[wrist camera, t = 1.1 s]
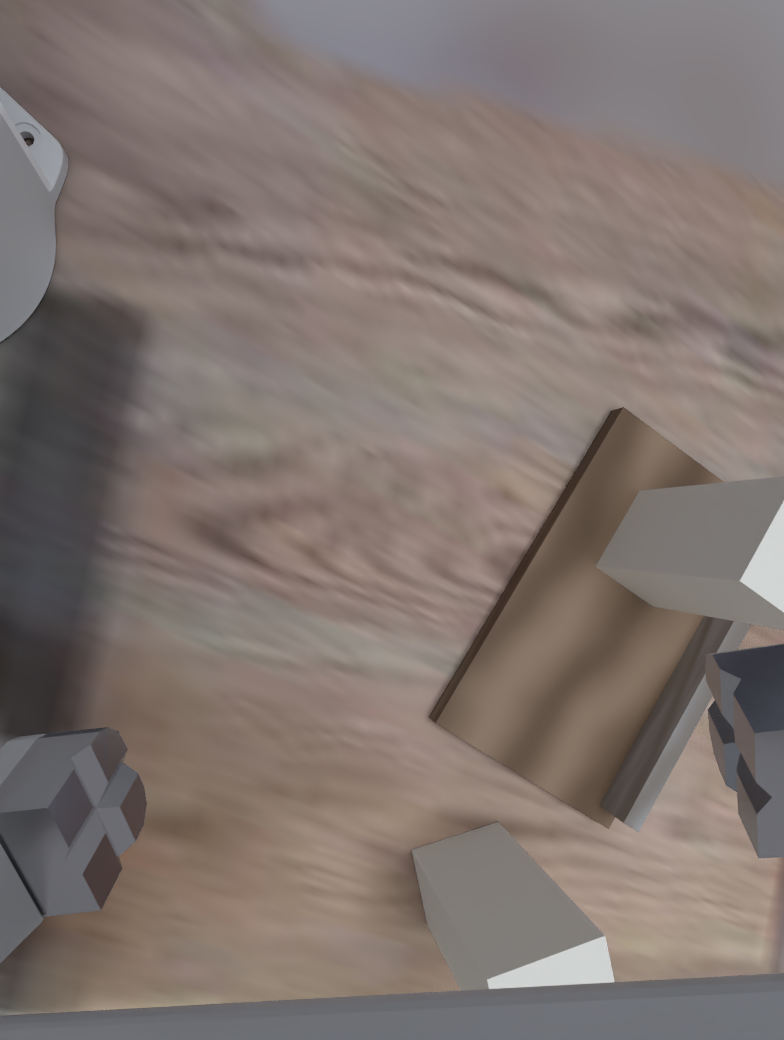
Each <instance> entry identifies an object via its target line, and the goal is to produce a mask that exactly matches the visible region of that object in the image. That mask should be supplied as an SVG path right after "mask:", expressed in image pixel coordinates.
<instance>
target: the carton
mask: <svg viewBox="0 0 784 1040" xmlns="http://www.w3.org/2000/svg"><path fill="white" fill-rule="evenodd" d="M596 568H598V569H599V570H601V571H602V572H604V573H605V574H607V575H608V576H609V577H611V578H612V579H614V580H615V581H617V582H618V583H620V584H621V585H623V586H624V587H625V588H627V589H628V590H630V591H631V592H633V593H634V594H636V595H637V596H638V597H640V598H641V599H643V600H644V601H646V602H647V603H649V604H650V605H652V606H653V607H658V608H664V609H669V610H675V611H680V612H686V613H692V614H697V615H703V616H708V617H714V618H720V619H725V620H731V621H737V622H742V623H748V624H753V625H759V626H765V627H770V628H776V629H781V630H784V477H774V478H764V479H754V480H743V481H733V482H723V483H712V484H702V485H692V486H681V487H671V488H661V489H651V490H640V491H639V493H638V494H637V496H636V498H635V499H634V501H633V503H632V505H631V506H630V508H629V510H628V512H627V513H626V515H625V517H624V518H623V520H622V522H621V524H620V525H619V527H618V529H617V530H616V532H615V534H614V536H613V537H612V539H611V541H610V543H609V544H608V546H607V548H606V549H605V551H604V553H603V555H602V556H601V558H600V560H599V561H598V563H597V565H596Z"/></svg>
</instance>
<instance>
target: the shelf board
mask: <svg viewBox="0 0 784 1040" xmlns="http://www.w3.org/2000/svg"><path fill="white" fill-rule="evenodd" d="M712 483H723V481H722V480H721V479H719V478H718V477H717V476H715V475H714V474H712V473H711V472H710V471H708V470H707V469H706V468H704V467H703V466H702V465H700V464H699V463H698V462H696V461H695V460H694V459H692V458H691V457H690V456H688V455H687V454H686V453H684V452H683V451H682V450H680V449H679V448H678V447H676V446H675V445H674V444H672V443H671V442H669V441H668V440H667V439H665V438H664V437H663V436H661V435H660V434H659V433H657V432H656V431H655V430H653V429H652V428H651V427H649V426H648V425H647V424H645V423H644V422H643V421H641V420H640V419H639V418H637V417H636V416H635V415H633V414H632V413H631V412H629V411H628V410H627V409H625V408H624V407H622V408H619V409H616V410H613V411H611V413H610V415H609V417H608V418H607V420H606V422H605V423H604V425H603V427H602V428H601V430H600V432H599V433H598V435H597V437H596V438H595V440H594V442H593V443H592V445H591V447H590V448H589V450H588V452H587V453H586V455H585V457H584V458H583V460H582V462H581V463H580V465H579V467H578V469H577V470H576V472H575V474H574V475H573V477H572V479H571V480H570V482H569V484H568V485H567V487H566V489H565V490H564V492H563V494H562V495H561V497H560V499H559V500H558V502H557V504H556V505H555V507H554V509H553V510H552V512H551V514H550V515H549V517H548V519H547V520H546V522H545V524H544V526H543V527H542V529H541V531H540V532H539V534H538V536H537V537H536V539H535V541H534V542H533V544H532V546H531V547H530V549H529V551H528V552H527V554H526V556H525V557H524V559H523V561H522V562H521V564H520V566H519V567H518V569H517V571H516V572H515V574H514V576H513V577H512V579H511V581H510V583H509V584H508V586H507V588H506V589H505V591H504V593H503V594H502V596H501V598H500V599H499V601H498V603H497V604H496V606H495V608H494V609H493V611H492V613H491V614H490V616H489V618H488V619H487V621H486V623H485V624H484V626H483V628H482V629H481V631H480V633H479V635H478V636H477V638H476V640H475V641H474V643H473V645H472V646H471V648H470V650H469V651H468V653H467V655H466V656H465V658H464V660H463V661H462V663H461V665H460V666H459V668H458V670H457V671H456V673H455V675H454V676H453V678H452V680H451V681H450V683H449V685H448V686H447V688H446V690H445V692H444V693H443V695H442V697H441V698H440V700H439V702H438V703H437V705H436V707H435V708H434V710H433V712H432V713H431V715H430V717H429V718H430V719H431V720H432V721H434V722H435V723H436V724H438V725H439V726H441V727H442V728H444V729H446V730H447V731H449V732H451V733H452V734H454V735H456V736H457V737H459V738H460V739H462V740H464V741H465V742H467V743H469V744H470V745H472V746H474V747H475V748H477V749H478V750H480V751H482V752H483V753H485V754H487V755H488V756H490V757H492V758H493V759H495V760H496V761H498V762H500V763H501V764H503V765H505V766H506V767H508V768H510V769H511V770H513V771H514V772H516V773H518V774H519V775H521V776H523V777H524V778H526V779H528V780H529V781H531V782H532V783H534V784H536V785H537V786H539V787H541V788H542V789H544V790H546V791H547V792H549V793H550V794H552V795H554V796H555V797H557V798H559V799H560V800H562V801H564V802H565V803H567V804H568V805H570V806H572V807H573V808H575V809H577V810H578V811H580V812H582V813H583V814H585V815H586V816H588V817H590V818H591V819H593V820H595V821H596V822H598V823H600V824H601V825H603V826H604V827H606V828H608V829H609V827H610V826H611V824H612V822H613V820H614V818H615V817H616V818H618V819H619V820H620V821H622V822H623V823H625V824H626V825H628V826H629V827H631V828H633V829H634V830H636V831H638V832H639V830H640V829H641V827H642V825H643V823H644V821H645V819H646V817H647V816H648V814H649V812H650V810H651V808H652V806H653V805H654V803H655V801H656V799H657V797H658V795H659V794H660V792H661V790H662V788H663V786H664V784H665V782H666V781H667V779H668V777H669V775H670V773H671V771H672V770H673V768H674V766H675V764H676V762H677V760H678V758H679V757H680V755H681V753H682V751H683V749H684V747H685V746H686V744H687V742H688V740H689V738H690V736H691V734H692V733H693V731H694V729H695V727H696V725H697V723H698V722H699V720H700V718H701V716H702V714H703V712H704V710H705V709H706V707H707V705H708V703H709V701H710V699H711V698H712V696H713V695H712V693H711V691H710V688H709V686H708V684H707V682H706V671H705V662H706V655H707V654H710V653H718V652H725V651H733V650H738V648H739V646H740V644H741V642H742V640H743V638H744V637H745V635H746V633H747V631H748V629H749V627H750V626H751V624H748V623H742V622H737V621H731V620H725V619H720V618H714V617H708V616H703V615H697V614H692V613H686V612H680V611H675V610H669V609H664V608H658V607H653V606H652V605H650V604H649V603H647V602H646V601H644V600H643V599H641V598H640V597H638V596H637V595H636V594H634V593H633V592H631V591H630V590H628V589H627V588H625V587H624V586H623V585H621V584H620V583H618V582H617V581H615V580H614V579H612V578H611V577H609V576H608V575H607V574H605V573H604V572H602V571H601V570H599V569H598V568H596V565H597V563H598V561H599V560H600V558H601V556H602V555H603V553H604V551H605V549H606V548H607V546H608V544H609V543H610V541H611V539H612V537H613V536H614V534H615V532H616V530H617V529H618V527H619V525H620V524H621V522H622V520H623V518H624V517H625V515H626V513H627V512H628V510H629V508H630V506H631V505H632V503H633V501H634V499H635V498H636V496H637V494H638V493H639V491H640V490H651V489H661V488H671V487H681V486H692V485H702V484H712Z"/></svg>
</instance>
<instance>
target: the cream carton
mask: <svg viewBox="0 0 784 1040" xmlns="http://www.w3.org/2000/svg"><path fill="white" fill-rule="evenodd" d="M411 851H412V855H413V860H414V865H415V869H416V874H417V879H418V883H419V888H420V893H421V897H422V902H423V907H424V911H425V916H426V921H427V925H428V927H429V929H430V931H431V933H432V935H433V937H434V939H435V941H436V943H437V945H438V947H439V949H440V951H441V953H442V955H443V957H444V958H445V960H446V962H447V964H448V966H449V968H450V970H451V972H452V974H453V976H454V978H455V980H456V982H457V984H458V986H459V988H460V990H480V989H499V988H517V987H536V986H555V985H574V984H592V983H611V982H614V977H613V972H612V967H611V962H610V957H609V953H608V948H607V943H606V938H605V935H604V934H603V933H602V932H601V931H600V930H599V929H598V928H597V927H596V926H595V925H594V923H593V922H592V921H591V920H590V919H589V918H588V917H587V916H586V915H585V914H584V913H583V912H582V911H581V910H580V909H579V907H578V906H577V905H576V904H575V903H574V902H573V901H572V900H571V899H570V898H569V897H568V896H567V895H566V894H565V893H564V891H563V890H562V889H561V888H560V887H559V886H558V885H557V884H556V883H555V882H554V881H553V880H552V879H551V878H550V877H549V875H548V874H547V873H546V872H545V871H544V870H543V869H542V868H541V867H540V866H539V865H538V864H537V863H536V862H535V861H534V860H533V858H532V857H531V856H530V855H529V854H528V853H527V852H526V851H525V850H524V849H523V848H522V847H521V846H520V845H519V844H518V842H517V841H516V840H515V839H514V838H513V837H512V836H511V835H510V834H509V833H508V832H507V831H506V830H505V829H504V828H503V826H502V825H501V824H500V823H499V822H496V823H493V824H490V825H487V826H484V827H481V828H477V829H474V830H471V831H468V832H465V833H462V834H459V835H456V836H453V837H450V838H446V839H443V840H440V841H437V842H434V843H431V844H428V845H425V846H422V847H419V848H416V849H412V850H411Z"/></svg>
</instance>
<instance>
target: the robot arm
mask: <svg viewBox="0 0 784 1040" xmlns="http://www.w3.org/2000/svg"><path fill="white" fill-rule="evenodd" d="M25 138H32V139H34V143H33V144H32V145H31V146H27V144H26V143H25V141H24V139H25ZM67 171H68V157H67V155H66V152H65V151H64V149H63V148H62V146H61V145H60V143H59V142H58V141H57V140H56V139H55V138H54V137H53V136H52V135H51V134H50V133H49V132H48V131H47V130H46V129H45V128H44V127H43V126H42V125H40V124H39V123H38V122H37V121H36V120H35V119H34V118H33V117H32V116H31V115H30V114H29V113H28V112H26V111H25V110H24V109H23V108H22V107H21V106H20V105H19V104H18V103H17V102H16V101H15V100H14V99H13V98H11V97H10V96H9V95H8V94H7V93H6V92H5V91H4V90H3V89H2V88H1V87H0V342H1V341H3V340H4V339H5V338H7V337H8V336H10V335H11V334H12V333H13V332H15V331H16V330H17V329H18V328H19V327H20V326H21V325H22V324H23V323H24V322H25V321H26V320H27V319H28V318H29V317H30V315H31V314H32V313H33V312H34V310H35V309H36V307H37V306H38V304H39V303H40V301H41V299H42V297H43V296H44V294H45V291H46V289H47V287H48V285H49V282H50V279H51V276H52V272H53V268H54V262H55V254H56V232H55V203H56V201H57V199H58V196H59V194H60V191H61V189H62V186H63V184H64V181H65V178H66V175H67ZM705 671H706V682H707V684H708V686H709V688H710V691H711V693H712V695H713V697H714V699H715V701H714V702H713V704H712V705H711V706H710V708H709V709H708V718H709V729H710V736H711V741H712V746H713V751H714V755H715V758H716V761H717V764H718V767H719V770H720V772H721V775H722V777H723V779H724V782H725V784H726V786H728V787H730V788H731V789H733V790H734V791H736V792H737V798H738V814H739V816H740V818H741V820H742V823H743V825H744V827H745V829H746V831H747V834H748V836H749V838H750V840H751V842H752V845H753V847H754V849H755V851H756V854H757V856H758V858H773V857H784V644H778V645H771V646H763V647H756V648H748V649H741V650H733V651H725V652H718V653H710V654H707V655H706V662H705ZM126 752H127V747H126V745H125V743H124V741H123V739H122V738H121V736H120V734H119V732H118V731H116V730H114V729H111V728H109V727H106V728H96V729H86V730H76V731H66V732H56V733H48V734H38V735H30V736H22V737H17V738H14V739H12V740H9V741H7V742H6V743H5V744H4V745H3V747H2V748H1V749H0V963H1V962H2V961H3V960H4V959H5V958H6V957H7V956H8V955H9V954H10V953H11V952H12V951H13V950H14V949H15V948H16V947H17V946H18V945H19V944H20V943H21V942H22V941H23V940H24V939H25V938H26V937H27V936H28V935H29V934H30V933H31V932H32V931H33V930H34V929H35V928H36V927H37V926H38V925H39V924H40V923H41V922H42V921H43V917H45V916H54V915H63V914H72V913H81V912H90V911H99V910H101V909H102V907H103V905H104V903H105V901H106V899H107V897H108V895H109V894H110V892H111V890H112V888H113V886H114V884H115V882H116V880H117V878H118V876H119V874H120V872H121V870H122V865H121V862H120V858H119V855H120V854H122V853H123V852H124V851H125V850H126V849H127V848H129V847H130V846H131V845H132V844H133V843H135V842H136V840H137V838H138V836H139V833H140V831H141V829H142V827H143V825H144V819H145V812H146V805H147V802H146V796H145V790H144V786H143V783H142V781H141V779H140V776H139V774H138V773H137V772H135V771H134V770H133V769H131V768H130V767H129V766H127V765H126V764H124V763H123V761H124V758H125V755H126ZM0 1040H784V973H773V974H756V975H738V976H720V977H703V978H685V979H667V980H649V981H630V982H611V983H592V984H574V985H555V986H536V987H517V988H499V989H480V990H461V991H442V992H424V993H405V994H387V995H369V996H351V997H333V998H315V999H297V1000H279V1001H261V1002H243V1003H225V1004H207V1005H189V1006H171V1007H152V1008H134V1009H116V1010H98V1011H80V1012H62V1013H43V1014H25V1015H7V1016H0Z"/></svg>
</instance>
